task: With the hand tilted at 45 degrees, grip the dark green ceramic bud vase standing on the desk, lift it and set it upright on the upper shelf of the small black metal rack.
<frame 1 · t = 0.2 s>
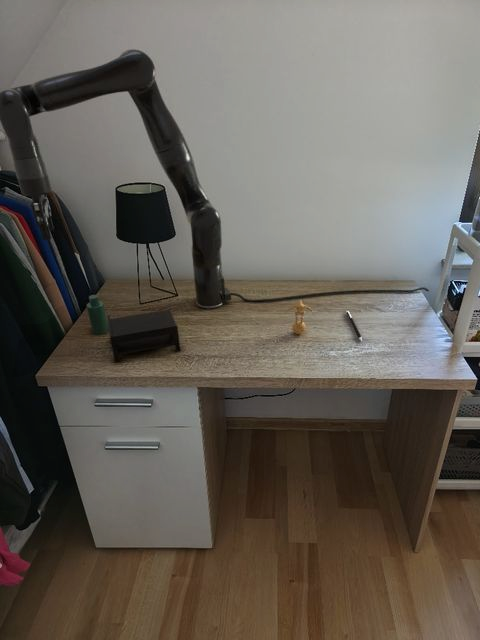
hand: (48, 234, 135), 29 cm above the table, tool pointing down, fingers open, 8 cm apart
figurine: (298, 335, 143), on the table
rack: (145, 345, 140), on the table
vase: (100, 330, 147), on the table
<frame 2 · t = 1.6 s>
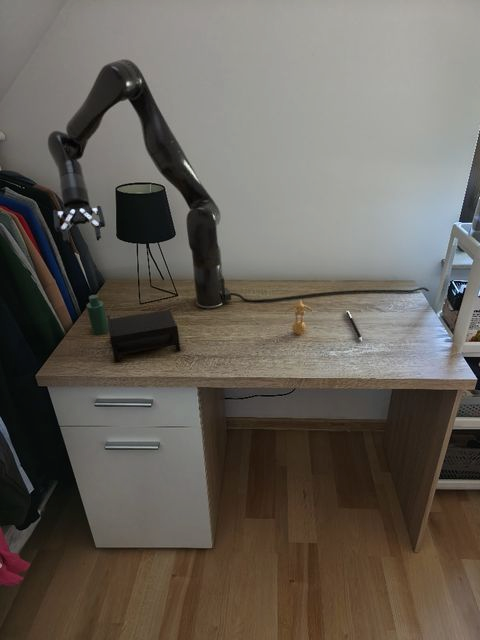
hand: (83, 241, 144), 25 cm above the table, tool tilted 45°, fingers open, 8 cm apart
nothing on the table moved.
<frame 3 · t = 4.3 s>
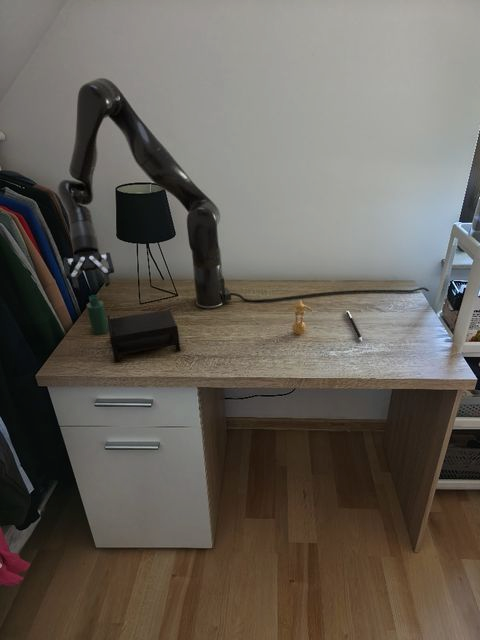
hand: (92, 287, 146), 12 cm above the table, tool tilted 45°, fingers open, 8 cm apart
nothing on the table moved.
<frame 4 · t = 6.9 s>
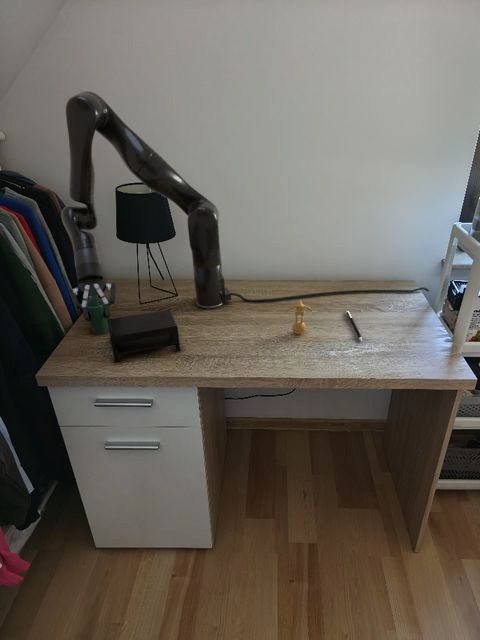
hand: (97, 318, 143), 5 cm above the table, tool tilted 45°, fingers closed on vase, 5 cm apart
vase: (100, 330, 147), on the table, touching gripper
everything else where it was.
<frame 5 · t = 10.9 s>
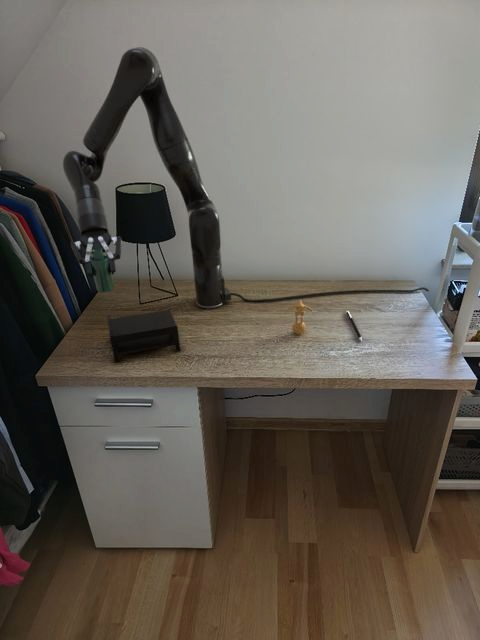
hand: (102, 274, 131), 21 cm above the table, tool tilted 45°, fingers closed on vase, 5 cm apart
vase: (105, 288, 136), point 16 cm above the table, touching gripper
everything else where it was.
when the fingers open (12 cm above the table, at t = 14.7 s): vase stays where it is, resting on rack.
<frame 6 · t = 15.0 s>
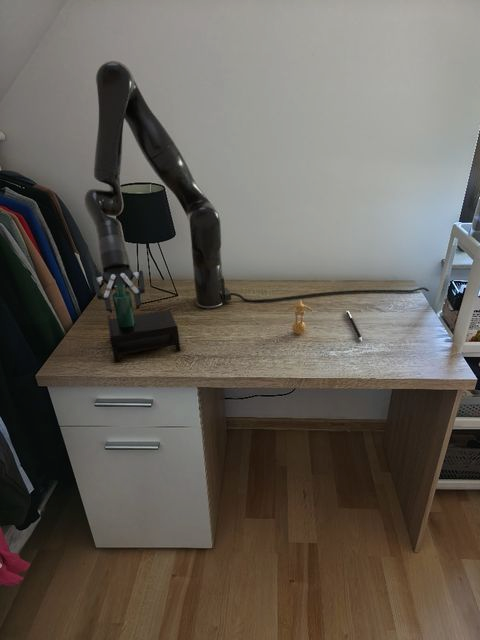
hand: (124, 309, 132), 12 cm above the table, tool tilted 45°, fingers open, 6 cm apart
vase: (126, 323, 136), point 7 cm above the table, touching rack
everything else where it was.
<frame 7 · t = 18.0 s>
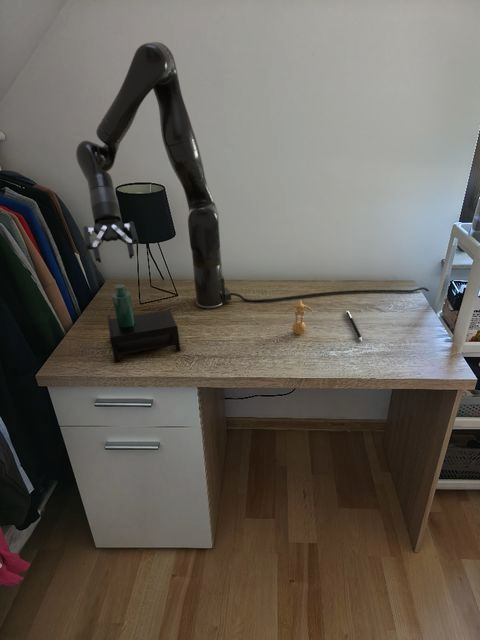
hand: (115, 259, 134), 23 cm above the table, tool tilted 45°, fingers open, 8 cm apart
nothing on the table moved.
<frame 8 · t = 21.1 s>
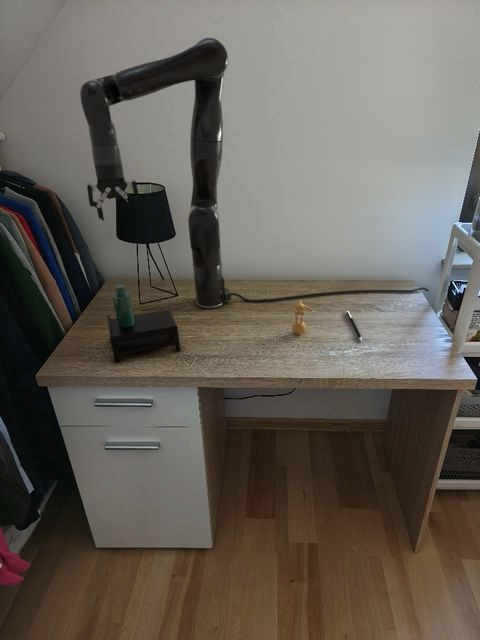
hand: (117, 218, 144), 30 cm above the table, tool pointing down, fingers open, 8 cm apart
nothing on the table moved.
at the end: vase inside the target area on the rack (4.4 cm from its centre), point 7.0 cm above the rack's base; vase tilted 0°; the gripper is holding nothing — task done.
